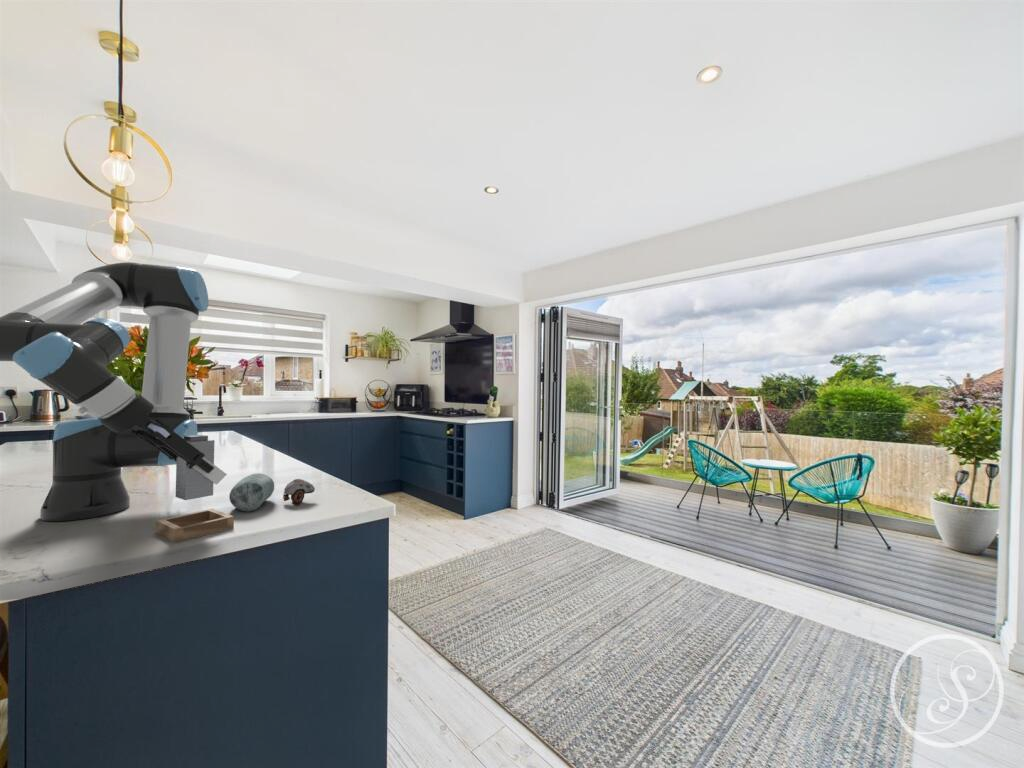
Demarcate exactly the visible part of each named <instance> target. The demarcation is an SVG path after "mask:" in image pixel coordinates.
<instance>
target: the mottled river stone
mask: <svg viewBox="0 0 1024 768" xmlns="http://www.w3.org/2000/svg"><path fill="white" fill-rule="evenodd" d="M274 490H275V482H274V480H273V479H272V477H271V476H269V475H268V474H264V473H262V472H261V473H259V472H258V473H252V474H249V475H247V476H245V477H242V479H240V480H239V481H238V482H237V483H236V484H234V486H233V487H232V488H231V490H230V492H229V495H228V497H229V502H230V503H231V505H232V506H233V507H234V508H236V509H238V510H239V511H243V512H252V511H255V510H257V509H259V508H260V507H261V506H262V505H263V504H264V502H266V500H268V499H269V498H271V496H272V495H273V493H274Z"/></svg>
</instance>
